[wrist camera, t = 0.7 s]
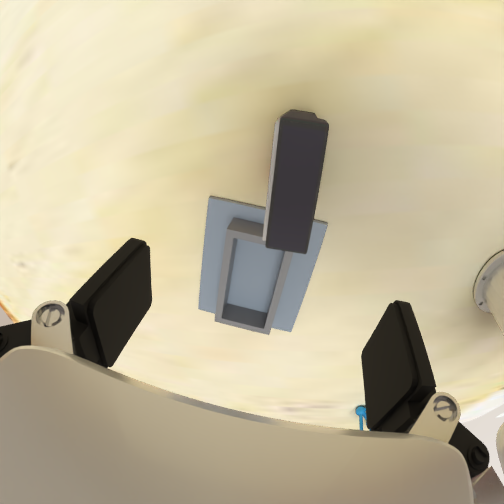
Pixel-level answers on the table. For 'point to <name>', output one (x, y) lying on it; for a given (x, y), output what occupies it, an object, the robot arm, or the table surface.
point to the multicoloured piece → (294, 180)
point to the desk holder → (252, 269)
